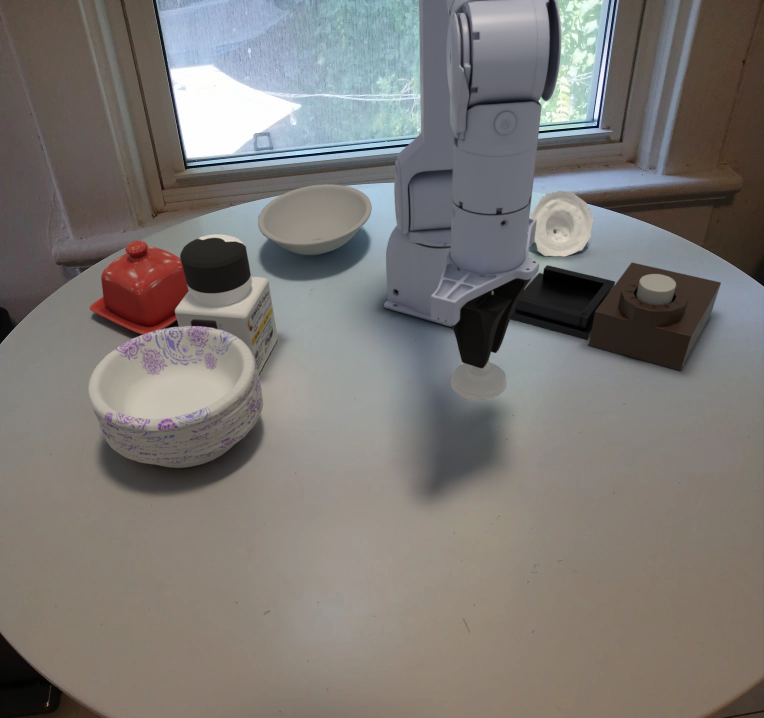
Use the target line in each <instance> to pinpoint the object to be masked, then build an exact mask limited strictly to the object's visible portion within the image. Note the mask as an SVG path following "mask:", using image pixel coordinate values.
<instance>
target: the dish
mask: <svg viewBox="0 0 764 718" xmlns="http://www.w3.org/2000/svg"><path fill="white" fill-rule="evenodd" d="M372 210H373V205H372V202H371V199H370V198H369V196H367V194H365V193H364V192H363V191H361V190H359V189H357V188H354V187H352V186H347V185H342V184H332V183H331V184H330V183H329V184H327V183H326V184H325V183H324V184H313V185H308V186H303V187H299V188H296V189H293V190H289V191H288V192H285V193H283V194H281V195H279V196H277V197H276V198H273V199H272V200H270V202H268V203H267V204H266V205H265V206H264V207H263V208H262V209H261V211H260V213H259V215H258V218H257V227H258V229H259V232H260V233H261V234H262V235H263V236H264V237H265V238H266V239H268V240H270V241H272V242H274V243H276V244H277V245H278V246H279V247H281V248H283V249H284V250H287V251H289V252H291V253H294V254H298V255H305V256H316V255H322V254H327V253H330V252H333V251H335V250H337V249H339V248H341V247H342V246H344V245H345V244H346V243H348V242H349V241H350V240H351V239H353V237H354V236H355V235H356V234H357V233H358V231H359V230H360V229H361V228H362V227H363V226H364V225H365V224H366V223H367V221H368V220H369V219H370V217H371V214H372Z"/></svg>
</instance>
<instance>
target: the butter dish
mask: <svg viewBox="0 0 764 718" xmlns="http://www.w3.org/2000/svg"><path fill="white" fill-rule="evenodd" d="M100 280H101V281H100V282H101V289H102V296H101V297H100V298H99V299H96V300H95V301H94V302H93V303H91V304H90V306H89V310H90V311H91V312H93V313H94V314H96V315H98V316H101V318H102V317H103V318H105V319H106V320H109V321H111V322H113V323H114V324H117V325H119V326H121V327H123V328H125V329H127V330H130V331H132V332H134V333H137V334H139V335H144V334H147V333H150V332H153V331H157V330H162V329H166V328H168V327H169V326H170V325H172V324H173V323H175V322H176V321H177V318H176V314H175V309H176V307H177V306H178V305H179V303H180V302H181V301H182V299H183V298H184V297H185V295H186V294H187V293H188V291H189V290H188V286H187V282H186V278H185V274H184V270H183V266H182V262H181V258H180V256H178V255H176V254H175V253H172V252H170V251H168V250H165V249H162V248H159V247H155V246H149V245H148V243H147V242H145V241H144V240H134V241H133V240H132V241H131V242H129V243H127V245H126V246H125V253H124V254H122V255H120V256H119V257H117V258H116V259H114V260H112V262H110V263H109V264H108V265H107V266H105V268H104V269H103V270H102V272H101V276H100Z"/></svg>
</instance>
